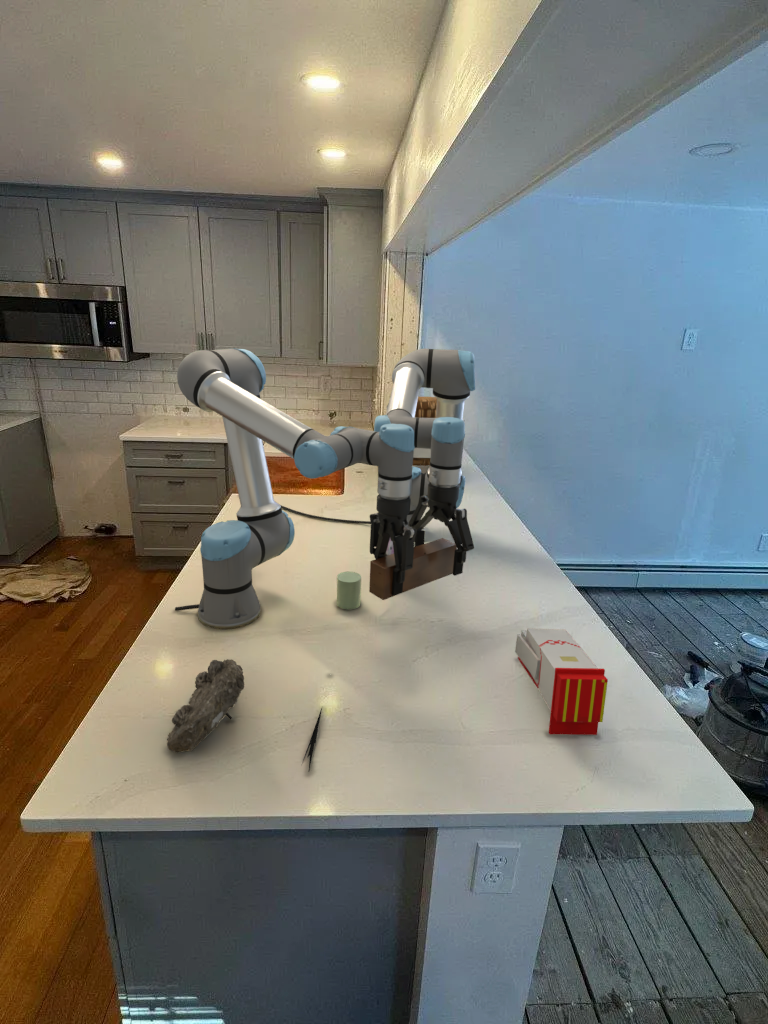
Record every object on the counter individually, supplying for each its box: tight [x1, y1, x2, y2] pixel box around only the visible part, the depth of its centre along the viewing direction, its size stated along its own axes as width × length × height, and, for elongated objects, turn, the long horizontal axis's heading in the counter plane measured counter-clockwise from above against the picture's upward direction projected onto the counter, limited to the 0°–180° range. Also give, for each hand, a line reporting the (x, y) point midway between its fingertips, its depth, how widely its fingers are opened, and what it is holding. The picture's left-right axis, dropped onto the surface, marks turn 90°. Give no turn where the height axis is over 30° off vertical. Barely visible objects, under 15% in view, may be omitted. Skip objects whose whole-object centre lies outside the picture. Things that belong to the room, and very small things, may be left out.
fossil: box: [166, 658, 245, 754], centre depth 106 cm, size 22×10×15 cm
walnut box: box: [368, 537, 457, 601], centre depth 137 cm, size 24×5×8 cm, turn 131°
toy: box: [514, 627, 609, 736], centre depth 119 cm, size 12×13×30 cm
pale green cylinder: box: [336, 571, 362, 611], centre depth 150 cm, size 6×6×8 cm
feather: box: [301, 673, 332, 771], centre depth 108 cm, size 2×28×2 cm
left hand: (388, 588), depth 133 cm, fingers closed on walnut box, 5 cm apart
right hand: (437, 564), depth 143 cm, fingers open, 13 cm apart
